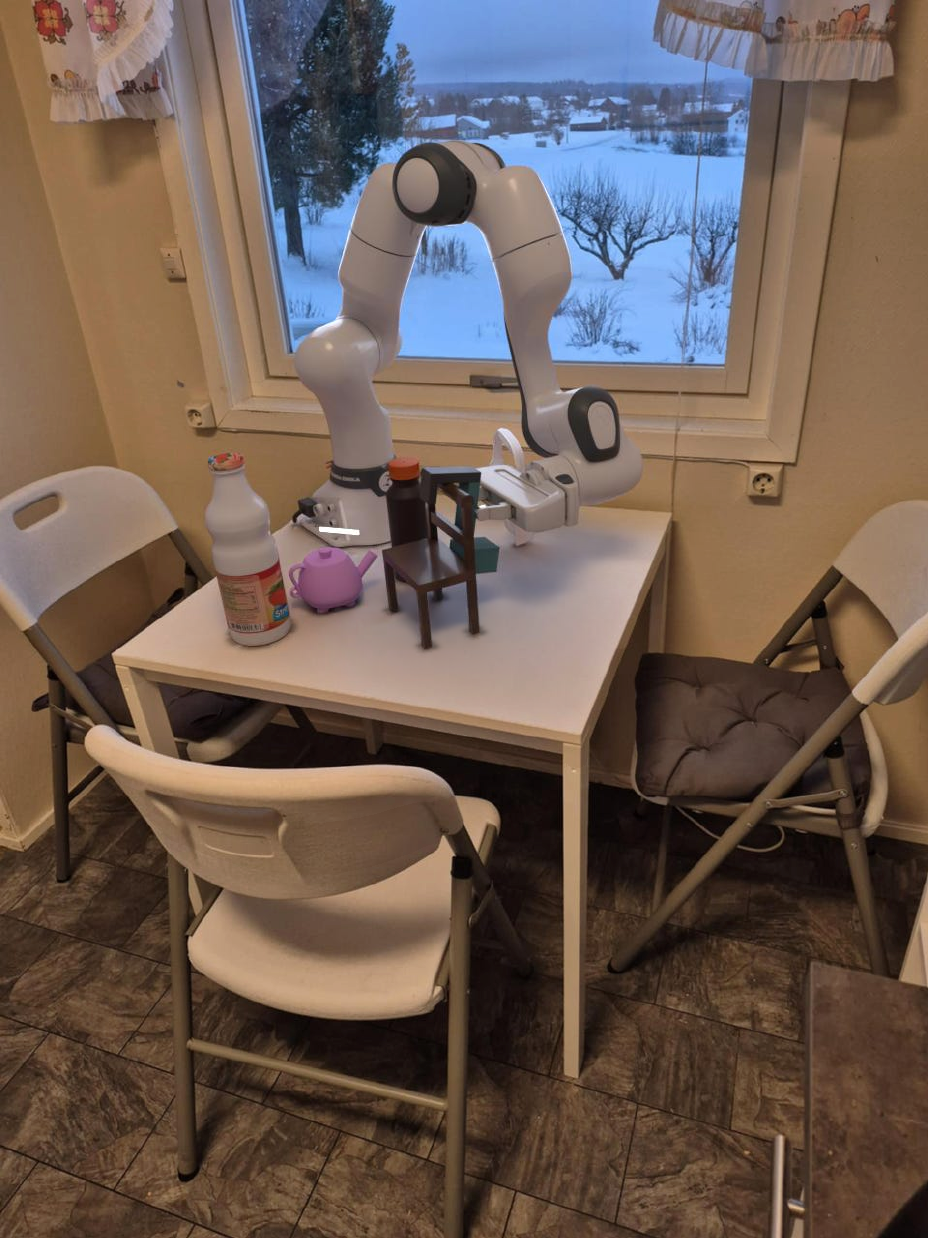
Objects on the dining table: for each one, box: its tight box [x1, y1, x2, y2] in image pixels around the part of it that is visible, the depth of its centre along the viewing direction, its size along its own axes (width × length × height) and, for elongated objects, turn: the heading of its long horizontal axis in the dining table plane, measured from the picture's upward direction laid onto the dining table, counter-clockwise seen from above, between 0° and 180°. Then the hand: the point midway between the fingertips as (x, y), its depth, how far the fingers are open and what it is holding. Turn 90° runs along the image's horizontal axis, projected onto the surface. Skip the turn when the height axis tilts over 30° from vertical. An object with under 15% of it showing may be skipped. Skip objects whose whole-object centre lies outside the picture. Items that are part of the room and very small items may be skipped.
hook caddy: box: [419, 465, 500, 575], centre depth 126 cm, size 12×5×16 cm, turn 117°
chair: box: [381, 469, 481, 650], centre depth 126 cm, size 9×14×22 cm
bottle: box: [386, 456, 428, 583], centre depth 141 cm, size 7×7×20 cm
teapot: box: [288, 546, 378, 614], centre depth 137 cm, size 10×15×9 cm
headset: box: [484, 427, 534, 547], centre depth 157 cm, size 20×7×18 cm, turn 12°
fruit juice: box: [204, 451, 292, 647], centre depth 125 cm, size 9×9×28 cm
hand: (466, 507), depth 126 cm, fingers open, 5 cm apart
